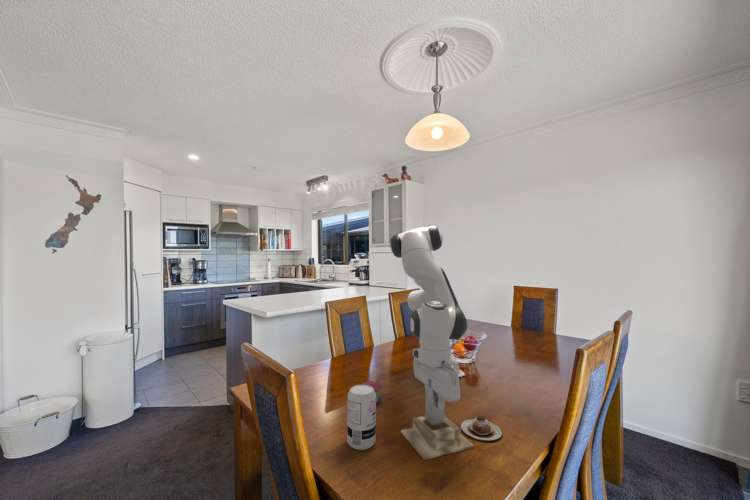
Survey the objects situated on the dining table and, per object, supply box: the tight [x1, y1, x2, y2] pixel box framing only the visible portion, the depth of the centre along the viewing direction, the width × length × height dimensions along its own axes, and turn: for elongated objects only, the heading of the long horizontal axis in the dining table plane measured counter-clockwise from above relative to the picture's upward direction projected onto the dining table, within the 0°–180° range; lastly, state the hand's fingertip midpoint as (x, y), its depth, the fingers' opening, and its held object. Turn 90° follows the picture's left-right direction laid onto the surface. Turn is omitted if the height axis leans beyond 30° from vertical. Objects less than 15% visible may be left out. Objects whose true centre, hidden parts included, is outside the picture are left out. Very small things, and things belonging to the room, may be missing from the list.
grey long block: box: [424, 379, 445, 425], centre depth 89 cm, size 4×4×12 cm
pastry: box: [460, 414, 503, 442], centre depth 94 cm, size 12×12×5 cm
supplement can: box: [346, 384, 377, 451], centre depth 87 cm, size 8×8×15 cm
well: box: [400, 415, 475, 461], centre depth 89 cm, size 16×14×5 cm
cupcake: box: [361, 370, 384, 403], centre depth 114 cm, size 9×8×12 cm
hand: (435, 404), depth 89 cm, fingers closed on grey long block, 4 cm apart
